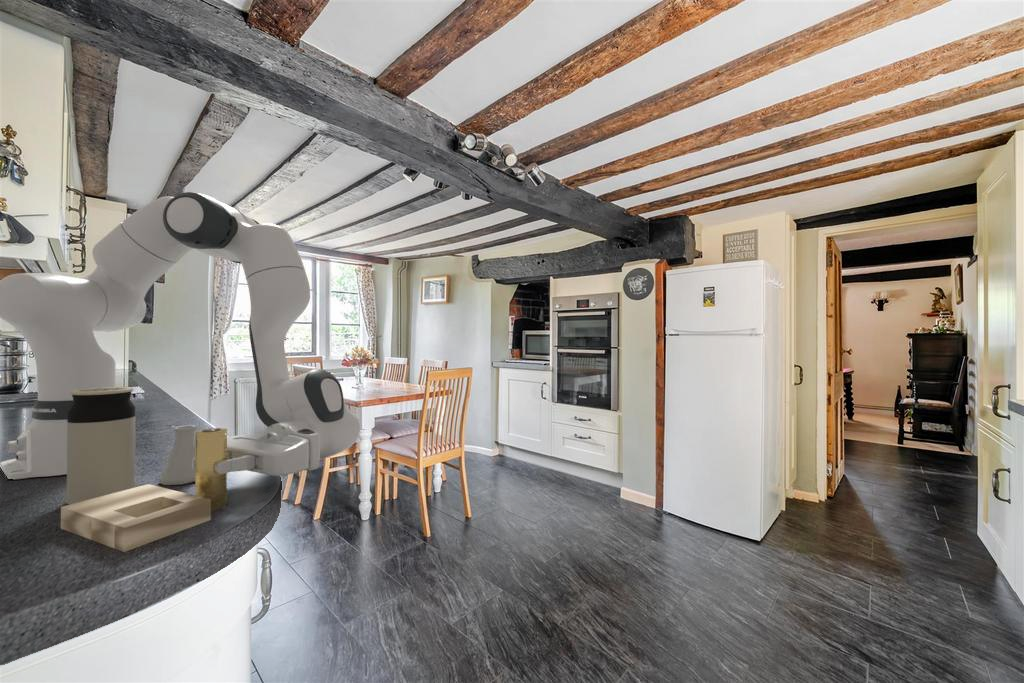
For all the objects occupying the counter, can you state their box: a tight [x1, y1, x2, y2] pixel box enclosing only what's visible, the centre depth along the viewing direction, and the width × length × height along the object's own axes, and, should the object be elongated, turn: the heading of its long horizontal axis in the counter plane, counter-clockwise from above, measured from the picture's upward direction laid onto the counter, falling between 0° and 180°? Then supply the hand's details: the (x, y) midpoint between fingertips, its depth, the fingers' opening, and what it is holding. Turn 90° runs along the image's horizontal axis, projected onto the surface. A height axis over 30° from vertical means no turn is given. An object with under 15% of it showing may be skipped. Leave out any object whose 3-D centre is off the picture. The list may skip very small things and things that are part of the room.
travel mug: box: [66, 386, 136, 505], centre depth 68 cm, size 8×8×18 cm
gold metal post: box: [194, 427, 228, 512], centre depth 64 cm, size 4×4×12 cm
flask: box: [157, 424, 197, 486], centre depth 77 cm, size 7×7×10 cm
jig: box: [60, 483, 212, 553], centre depth 58 cm, size 16×10×3 cm, turn 67°
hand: (205, 466), depth 64 cm, fingers closed on gold metal post, 4 cm apart
